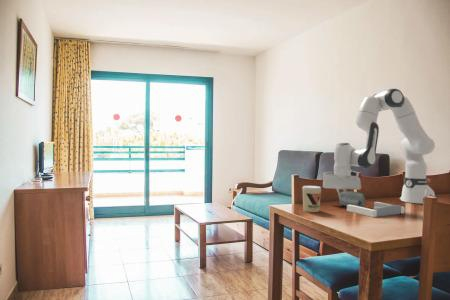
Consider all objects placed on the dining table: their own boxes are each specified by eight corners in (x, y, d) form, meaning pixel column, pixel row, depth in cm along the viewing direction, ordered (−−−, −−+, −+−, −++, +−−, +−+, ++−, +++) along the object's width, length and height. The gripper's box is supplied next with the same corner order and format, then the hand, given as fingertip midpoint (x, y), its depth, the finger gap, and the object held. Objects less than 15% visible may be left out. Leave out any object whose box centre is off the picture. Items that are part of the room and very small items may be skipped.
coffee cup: (306, 212, 182) (307, 188, 181) (298, 208, 191) (299, 185, 190) (323, 212, 184) (324, 188, 183) (315, 208, 193) (316, 185, 192)
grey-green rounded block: (370, 200, 199) (362, 185, 197) (364, 211, 193) (357, 195, 191) (347, 203, 209) (339, 188, 207) (341, 213, 203) (333, 198, 201)
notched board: (377, 207, 200) (377, 199, 199) (404, 213, 186) (404, 205, 185) (346, 210, 188) (346, 202, 188) (372, 217, 174) (373, 208, 174)
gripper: (322, 171, 206) (322, 196, 206) (361, 173, 201) (360, 198, 201) (322, 170, 212) (321, 194, 212) (360, 172, 207) (359, 197, 208)
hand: (341, 196), depth 207 cm, fingers closed
